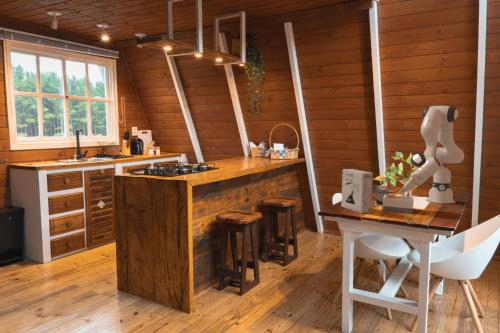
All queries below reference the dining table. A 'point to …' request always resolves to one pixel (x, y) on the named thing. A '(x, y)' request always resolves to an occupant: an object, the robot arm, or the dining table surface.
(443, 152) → the robot arm
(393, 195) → the peg
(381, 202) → the food container
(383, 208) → the socket box
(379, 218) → the dining table surface
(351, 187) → the cereal box
